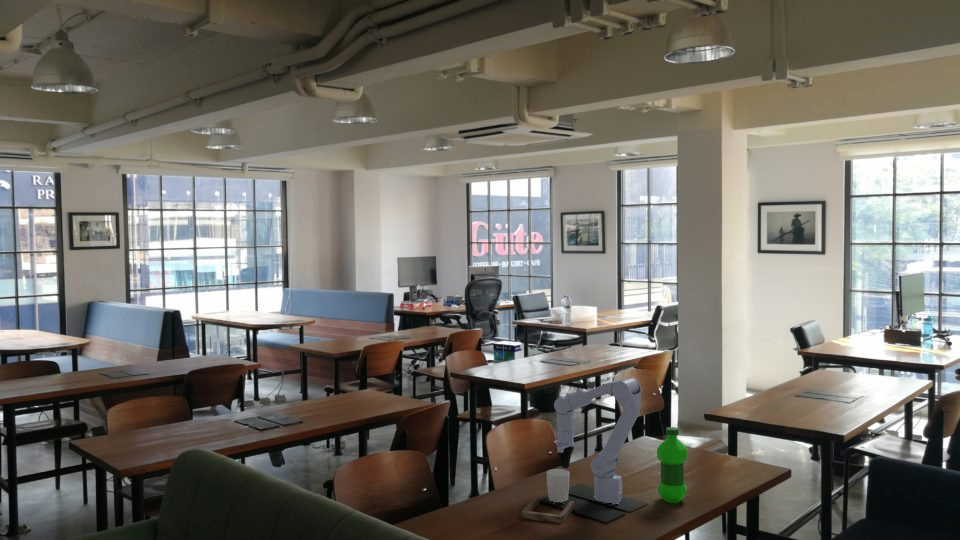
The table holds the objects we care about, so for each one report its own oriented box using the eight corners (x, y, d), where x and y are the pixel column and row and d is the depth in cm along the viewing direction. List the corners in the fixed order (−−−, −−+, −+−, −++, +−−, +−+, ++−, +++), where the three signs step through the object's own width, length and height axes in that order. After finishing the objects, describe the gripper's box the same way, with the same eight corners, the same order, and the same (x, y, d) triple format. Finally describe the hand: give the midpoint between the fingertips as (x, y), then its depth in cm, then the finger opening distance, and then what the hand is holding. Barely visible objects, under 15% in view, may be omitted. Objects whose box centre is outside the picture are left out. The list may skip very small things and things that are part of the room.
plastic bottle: (688, 497, 270) (688, 426, 269) (686, 507, 260) (686, 433, 259) (659, 494, 274) (659, 424, 273) (655, 504, 264) (655, 431, 263)
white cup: (568, 505, 264) (568, 476, 263) (545, 503, 265) (545, 475, 265) (570, 497, 272) (570, 469, 271) (548, 496, 273) (547, 468, 273)
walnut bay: (574, 507, 262) (574, 501, 262) (562, 523, 247) (562, 517, 247) (535, 502, 267) (534, 496, 267) (520, 518, 252) (520, 511, 252)
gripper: (559, 424, 285) (560, 460, 286) (548, 433, 271) (549, 472, 272) (578, 425, 282) (578, 462, 283) (568, 435, 269) (568, 474, 270)
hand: (565, 467), depth 277 cm, fingers closed
